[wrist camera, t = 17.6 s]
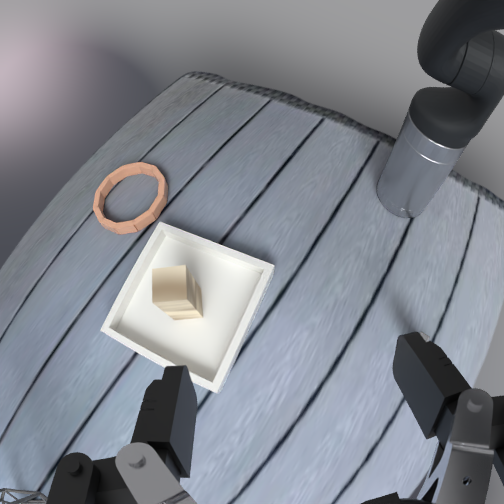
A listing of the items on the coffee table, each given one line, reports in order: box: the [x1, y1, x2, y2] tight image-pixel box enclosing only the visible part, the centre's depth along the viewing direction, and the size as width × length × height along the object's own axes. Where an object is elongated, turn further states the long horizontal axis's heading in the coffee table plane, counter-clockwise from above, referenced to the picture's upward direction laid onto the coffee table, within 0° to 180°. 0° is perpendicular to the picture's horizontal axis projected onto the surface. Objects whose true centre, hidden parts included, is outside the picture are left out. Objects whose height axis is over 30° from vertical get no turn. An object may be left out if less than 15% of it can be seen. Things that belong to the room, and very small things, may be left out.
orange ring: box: [93, 162, 168, 234], centre depth 51 cm, size 13×13×2 cm
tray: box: [101, 222, 274, 393], centre depth 42 cm, size 18×18×3 cm
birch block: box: [152, 265, 203, 320], centre depth 39 cm, size 4×4×9 cm
